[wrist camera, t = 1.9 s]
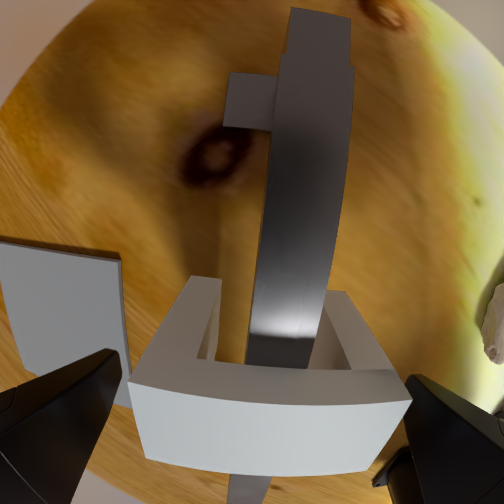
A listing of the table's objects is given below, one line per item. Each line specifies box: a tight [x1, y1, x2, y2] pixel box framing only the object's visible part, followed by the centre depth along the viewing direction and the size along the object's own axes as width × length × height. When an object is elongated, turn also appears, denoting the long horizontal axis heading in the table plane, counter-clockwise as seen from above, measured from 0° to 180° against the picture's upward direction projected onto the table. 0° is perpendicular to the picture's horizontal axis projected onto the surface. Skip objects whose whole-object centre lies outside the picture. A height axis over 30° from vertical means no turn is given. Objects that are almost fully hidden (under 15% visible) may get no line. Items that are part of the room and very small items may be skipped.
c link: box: [127, 275, 413, 476], centre depth 8 cm, size 3×6×6 cm, turn 83°
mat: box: [0, 241, 133, 409], centre depth 14 cm, size 10×10×1 cm
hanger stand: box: [223, 7, 355, 504], centre depth 10 cm, size 19×5×7 cm, turn 174°
